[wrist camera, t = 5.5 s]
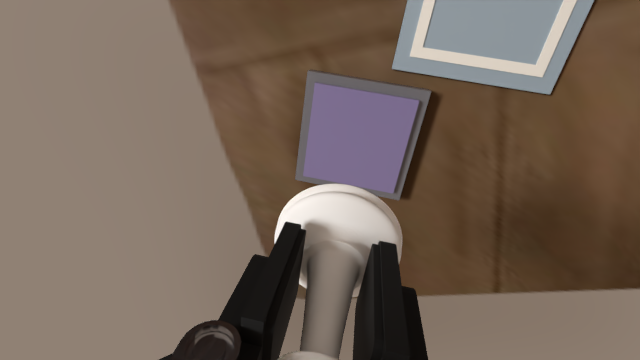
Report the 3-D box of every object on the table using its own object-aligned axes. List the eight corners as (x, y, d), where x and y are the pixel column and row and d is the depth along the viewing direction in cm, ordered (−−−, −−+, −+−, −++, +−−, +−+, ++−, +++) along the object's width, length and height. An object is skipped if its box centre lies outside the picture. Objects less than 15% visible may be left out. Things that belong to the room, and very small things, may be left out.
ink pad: (429, 89, 22) (432, 92, 21) (398, 194, 26) (399, 202, 25) (310, 69, 23) (306, 71, 22) (297, 175, 27) (294, 181, 26)
